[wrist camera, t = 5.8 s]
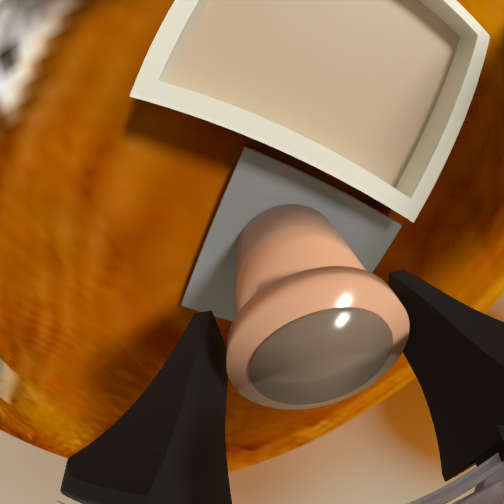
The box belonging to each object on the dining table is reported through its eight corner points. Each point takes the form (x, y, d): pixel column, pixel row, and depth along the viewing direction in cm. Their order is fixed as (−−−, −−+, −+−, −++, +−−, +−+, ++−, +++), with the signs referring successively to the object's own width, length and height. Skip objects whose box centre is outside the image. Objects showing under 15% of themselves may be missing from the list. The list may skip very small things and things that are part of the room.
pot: (355, 203, 11) (440, 288, 6) (330, 301, 14) (371, 403, 8) (231, 192, 11) (229, 286, 5) (226, 299, 13) (225, 415, 8)
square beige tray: (468, 38, 7) (490, 36, 6) (394, 208, 12) (413, 223, 10) (256, -85, 5) (259, -105, 3) (145, 97, 9) (129, 96, 8)
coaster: (396, 220, 12) (402, 225, 12) (317, 337, 16) (319, 344, 15) (244, 145, 11) (245, 147, 10) (182, 298, 14) (180, 305, 13)
